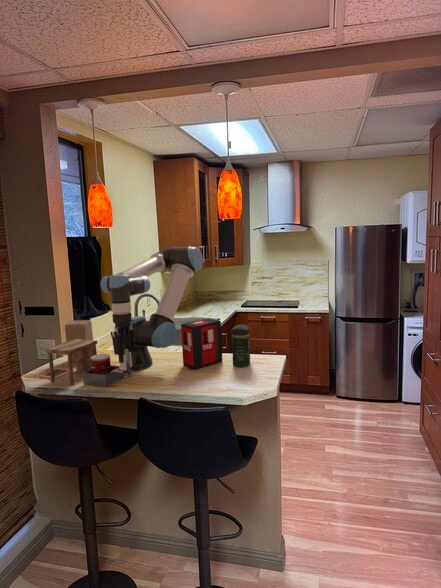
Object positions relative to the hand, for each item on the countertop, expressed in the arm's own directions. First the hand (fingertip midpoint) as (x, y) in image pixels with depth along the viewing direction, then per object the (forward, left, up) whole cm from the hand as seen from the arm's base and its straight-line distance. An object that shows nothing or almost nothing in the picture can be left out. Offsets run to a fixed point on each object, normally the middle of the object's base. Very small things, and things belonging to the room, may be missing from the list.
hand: (126, 368), depth 165 cm
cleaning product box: (-19, -33, -7) cm, 39 cm away
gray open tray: (+8, 0, -7) cm, 10 cm away
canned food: (+13, 0, -7) cm, 15 cm away
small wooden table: (+28, 0, -7) cm, 29 cm away
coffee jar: (-37, -37, -7) cm, 53 cm away
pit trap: (+39, 0, -7) cm, 40 cm away
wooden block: (+42, -20, -7) cm, 48 cm away
